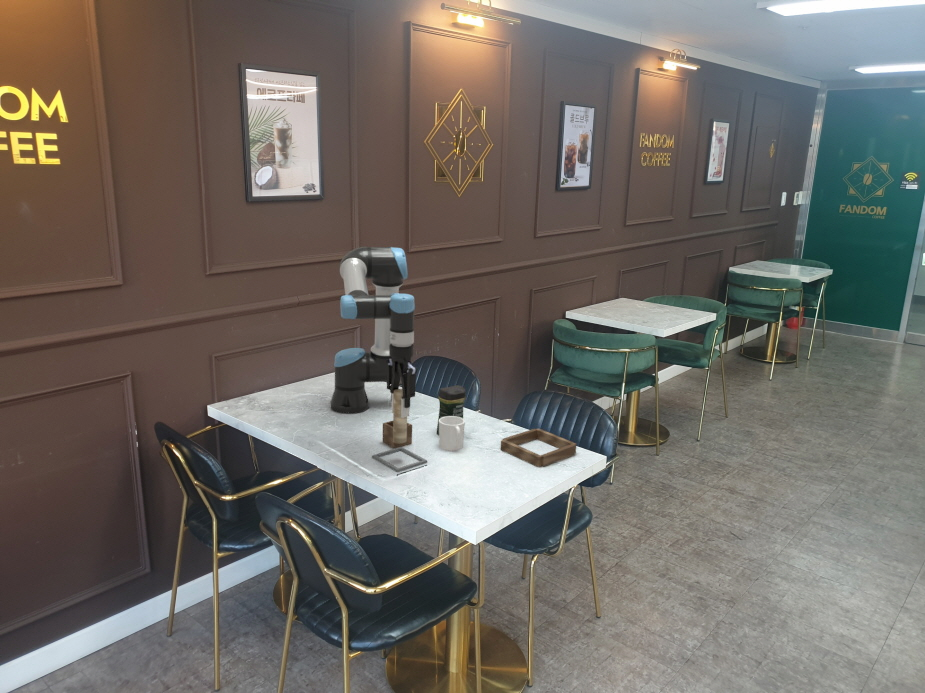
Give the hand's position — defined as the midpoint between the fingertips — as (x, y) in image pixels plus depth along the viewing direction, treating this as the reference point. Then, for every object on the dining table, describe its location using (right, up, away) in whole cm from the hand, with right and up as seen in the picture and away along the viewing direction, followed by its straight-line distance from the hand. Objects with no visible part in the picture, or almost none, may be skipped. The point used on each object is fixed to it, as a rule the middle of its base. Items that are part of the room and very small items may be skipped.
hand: (400, 414), depth 226 cm
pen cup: (-3, -13, +18) cm, 22 cm away
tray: (-1, -16, +4) cm, 17 cm away
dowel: (0, -9, +2) cm, 9 cm away
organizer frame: (+46, -15, +18) cm, 52 cm away
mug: (+16, -14, +17) cm, 27 cm away
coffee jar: (+16, -11, +29) cm, 35 cm away
